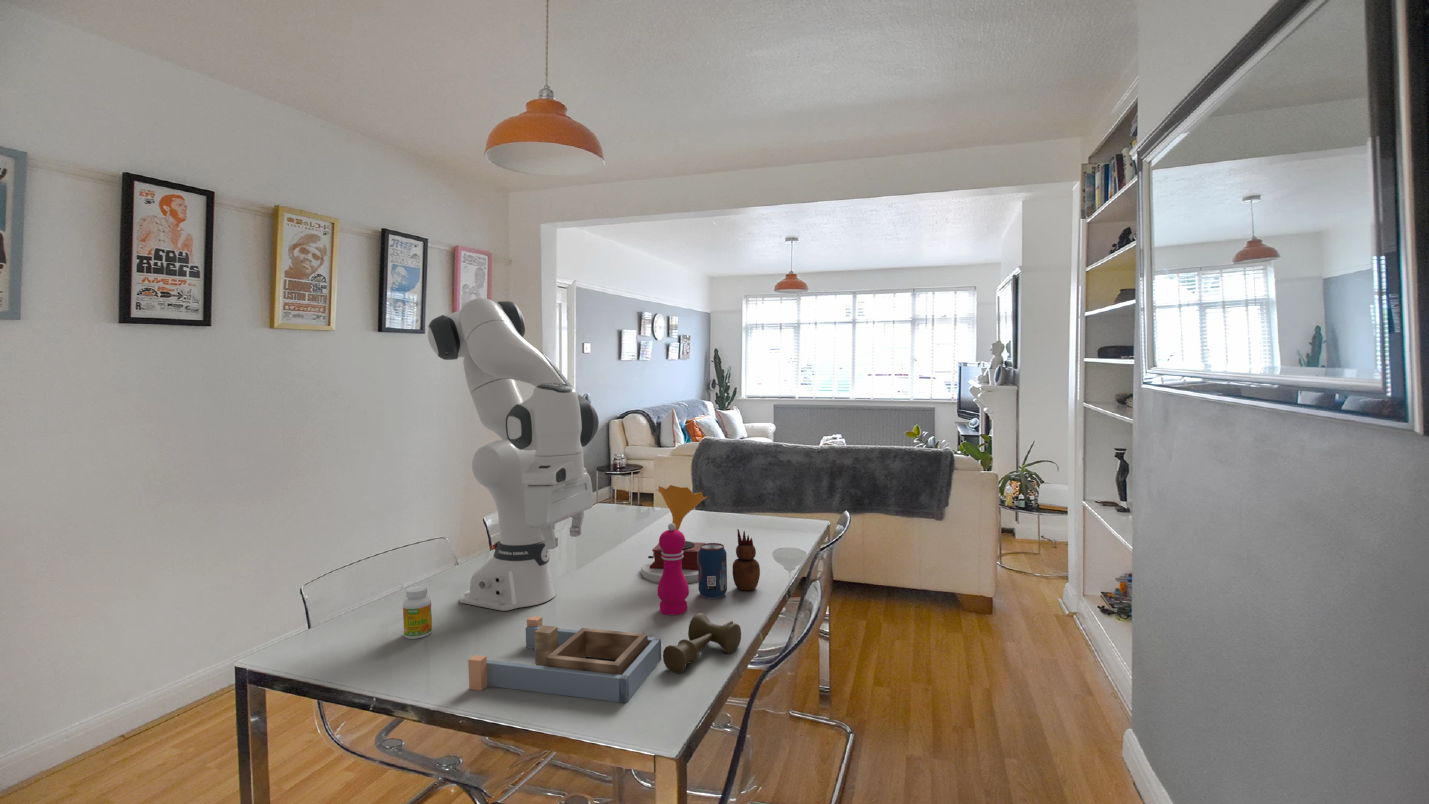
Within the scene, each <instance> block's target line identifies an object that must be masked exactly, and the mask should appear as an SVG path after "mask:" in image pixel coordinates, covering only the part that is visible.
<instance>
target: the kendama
mask: <svg viewBox="0 0 1429 804" xmlns="http://www.w3.org/2000/svg"><path fill="white" fill-rule="evenodd" d="M687 634H688V639H681V640H679V641H678V643H677V645H667V646H665V648H664V649H663V651H662V659H663V661H662V662H663V664H664V665H665V668H666V669H667V670H668V671H670V672H671V673H674V674H681V673H684V671H685V670H686V666H687V664H691V663H694V662H696V660H697V659H698V655H699V652H700V651H701V650H702V649H703V648H704V647H705V646H706V645H707V644H709V643H710V642H713V643H716V644H718V645H719V646H720V647H721V649H722V650H724V652H725V653H727V654H733V653H734V652H736V651H737V650H738V648H739V646H740V644H741V639H742V630H741V626H740V625H739V623H736V622H735V623H734V621H733V620H730V621H727V622H726V623H725V624H722V625H720V624H716V623H712V622H711V621H710V620H709V617H708V616H707V614H705V613H704V612H698V613H695V615H694V616H693V617H692V618H691V620H690V622H689V624H688V632H687Z"/></svg>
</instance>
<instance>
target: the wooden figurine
mask: <svg viewBox="0 0 1429 804" xmlns="http://www.w3.org/2000/svg"><path fill="white" fill-rule="evenodd" d="M735 555H736V559H734V560H733V563H732V579H733V582H734V585H735V587H736V588H737V589H738V590H740V591H744V592H745V591H746V592H747V591H754V590H756V588H757V587H758V585H759V581H760V576H761V567H760V564H759V561H758V560H757V559H755V557H756V555H757V551H756V547H755V545H754V542H753V538H752V537H751V538H750V535H749V534H747V536H746V531H745V530H743V532H742V536H741V532H740V529H739V528H737V546H736V548H735Z"/></svg>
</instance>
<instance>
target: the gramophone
mask: <svg viewBox="0 0 1429 804" xmlns="http://www.w3.org/2000/svg"><path fill="white" fill-rule="evenodd" d="M657 492H659V493H660V494H661V496H662V498H663V500H664V503H665V505H666V506H667V508H668V509H669V511H670V513H671V516H672V517H671V518H672V520H671V521H672V522H671V523H674V524H675V526H676V529H675V530H678V531H680V530H679V529H680V527H681V524H682V522H683V520H684V519H685V517H686V516H687V515H688V514H689V513H690V512H691V511H693V510H694V509H695V508H696V507H697V506H698V505H699V504H700V503H702V501H704V500H705V499H707V498H708V496H704V494H703V491H699V492H695V493H693V491H692V490H691V489H689V488H688V487H686V486H685V487H680V486H675V485H671V484H670V485H669V486H667V487H666V488H664V486H660V485H658V489H657ZM702 544H706V543H705V542H692V541H687V540H685V546H684V547H683V549H682V551H683V558H682V561H681V565H682V571H683V574H684V576H685V578H686V581H687V583H690V584H691V583H697V582H698V552H699V550H700V546H701V545H702ZM651 550H652V555H649V556H648V557H647V560H645V561H644V562H642V564H641V567H640V572H641V576H642V577H643V578H645V579H646V580H648V581H650V582H655V583H659V582H660V579H661V577H662V574H663V570H664V561H663V559H662V558H661V556H662V554H661V552H662V551H663V550H662V549H661V548H660V546H659V543H657V544H656V545H655V546H654V547H653V548H652V549H651Z"/></svg>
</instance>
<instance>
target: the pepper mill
mask: <svg viewBox="0 0 1429 804" xmlns="http://www.w3.org/2000/svg"><path fill="white" fill-rule="evenodd" d="M667 529H668V530H664V531H663V532H662V533H661V534H660V536H659V539H658V544H659V546H660V548H661V549H662V550H663V551H662V552H661V554H662V556H661V558H662V559H663V561H664V570H663V574H662V577H661V579H660V582H658V585H657V592H656V593H657V594H656V595H657V597H658V599H660V602H659V611H660V613H661V614H662V615H663V614H664V615H667V616H678V615H682V614H684V613H686V612H687V611H688V601H687V600H686V599H687V598H688V596H689V594H690V589H689V584H688V583H687V581H686V578H685V576H684V574H683V571H682V565H681V561H682V558H683V551H682V549H683V547H684V546H685V541H686V536H685V534H683V532H682V531H681V530H675V529H676V526H675V524H674V523H672V522H671V523H669V524H668V526H667Z"/></svg>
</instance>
